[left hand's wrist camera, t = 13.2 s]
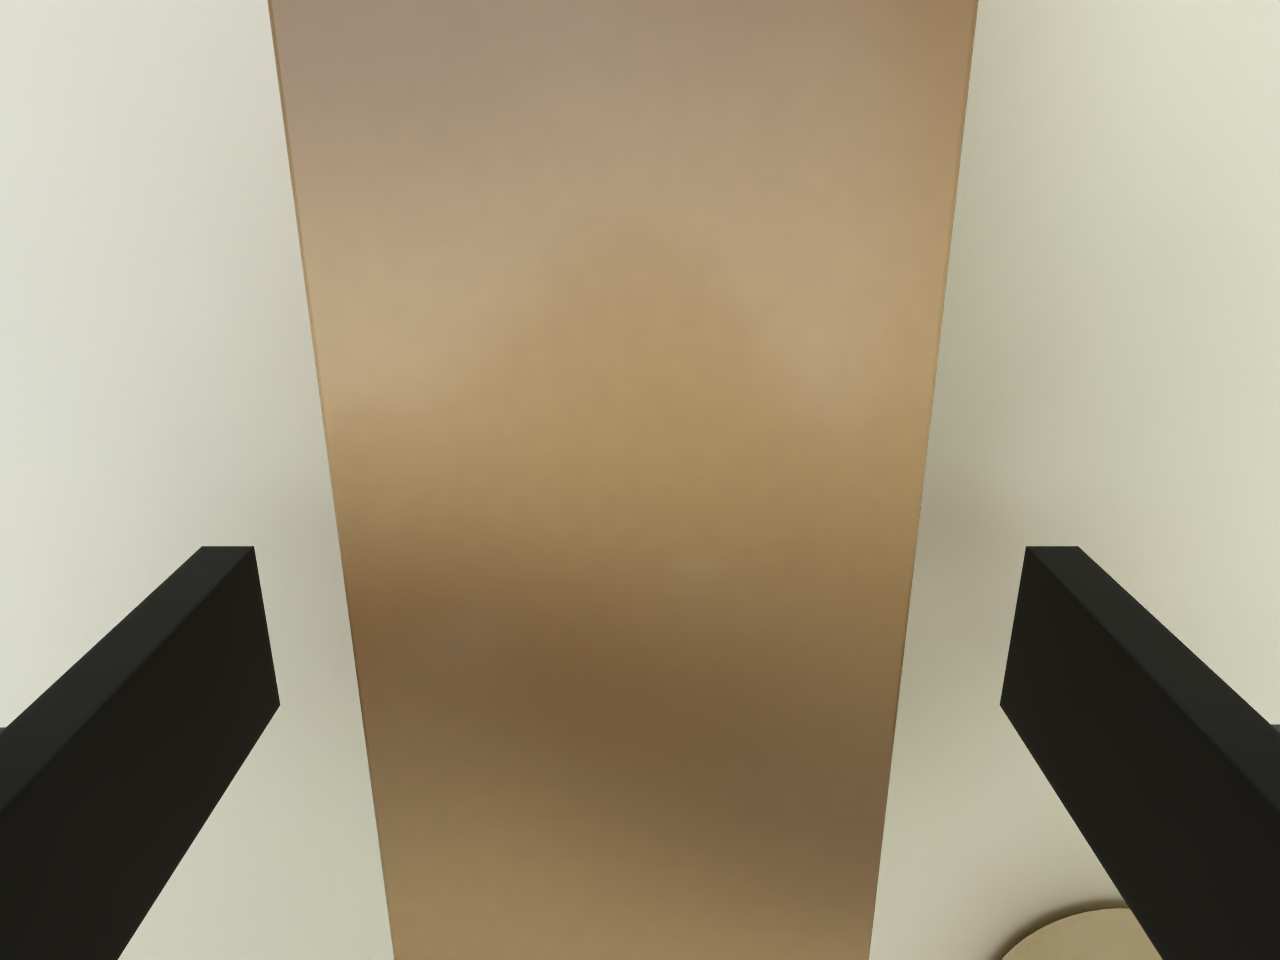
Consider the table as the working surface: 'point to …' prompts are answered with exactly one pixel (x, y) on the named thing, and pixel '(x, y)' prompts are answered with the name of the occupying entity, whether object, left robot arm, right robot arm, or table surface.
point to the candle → (1088, 939)
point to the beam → (626, 448)
